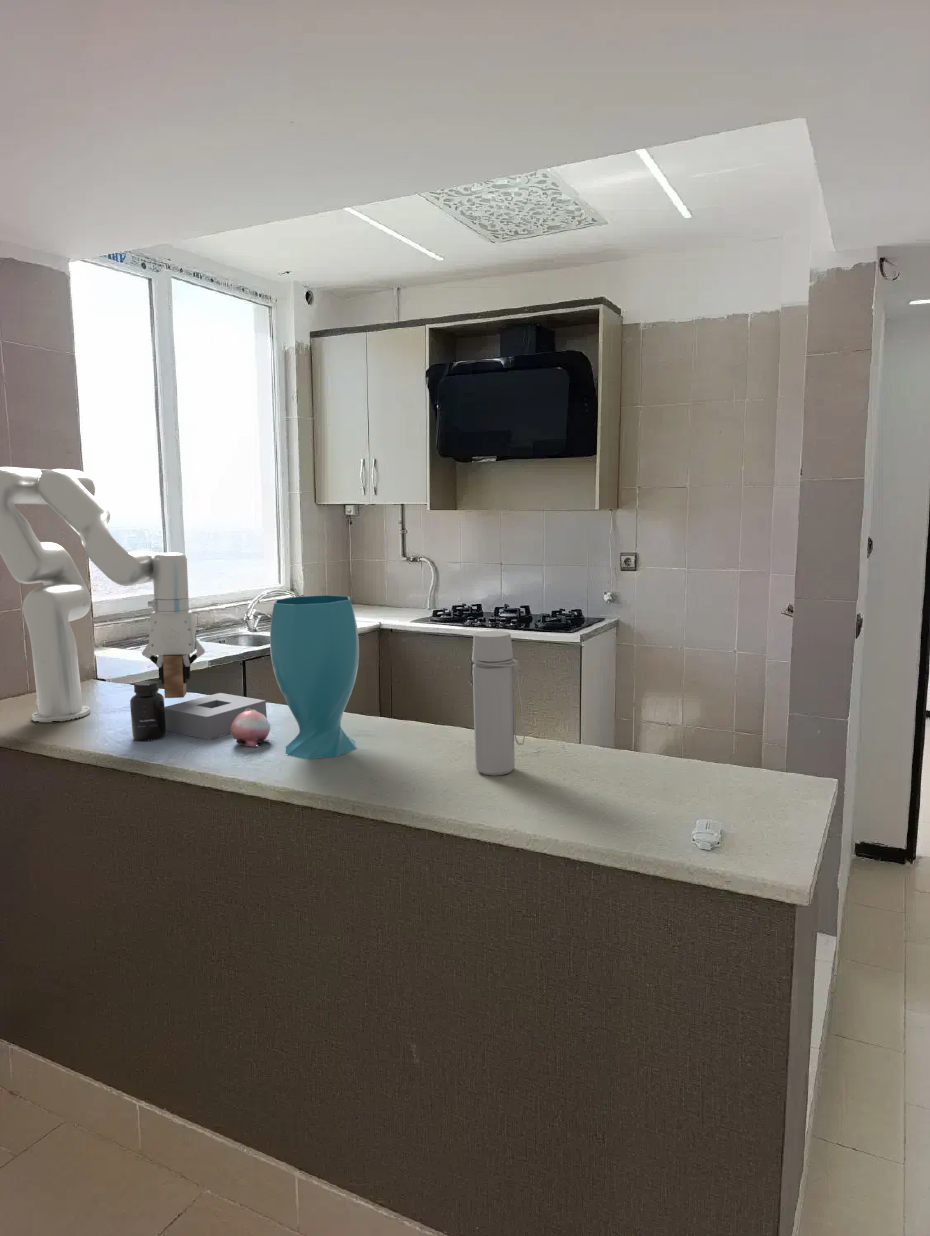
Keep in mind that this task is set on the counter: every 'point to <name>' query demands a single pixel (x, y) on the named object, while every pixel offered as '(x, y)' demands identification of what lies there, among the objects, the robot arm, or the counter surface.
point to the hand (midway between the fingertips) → (175, 681)
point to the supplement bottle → (147, 712)
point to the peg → (173, 676)
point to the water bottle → (494, 702)
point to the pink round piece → (250, 728)
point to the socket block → (209, 714)
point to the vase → (316, 669)
